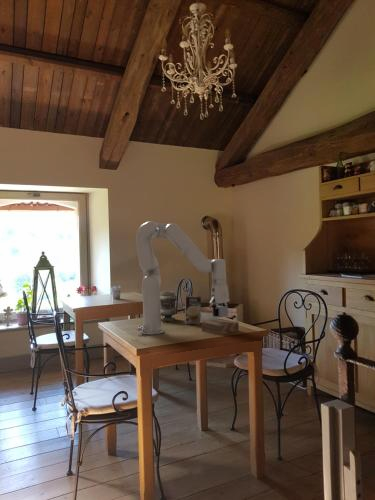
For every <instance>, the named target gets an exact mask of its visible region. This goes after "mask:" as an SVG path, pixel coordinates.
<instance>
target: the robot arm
mask: <svg viewBox="0 0 375 500" xmlns="http://www.w3.org/2000/svg"><path fill="white" fill-rule="evenodd" d="M152 238H157V239H164V240H165V239H168V240H169V241H170V242H171V243H172V244H173V245H174V246H175V247H176V248H177V250H178V251H180V253H181V254H182V255H183V256H184V257H185V258H187V260H188V261H189V262H190V263H191V264H192V265H193V266H194V267H195V268H196V269H197V270H198V272H199V273H201V274H206V275H207V274H209V273H211V284H212V285H211V291H210V301H209V305H211V307H212V308H213V315H214V316H219V313H218V309H217V308H218V306H219V305H220V304H221V306H228V305H229V302H230V301H231V299H230V293H229V287H228V284H227V272H226V271H227V269H226V267H227V265H226V260H225V259H224V258H223V259H222V258H216V259H208V258H207V257H206V256H205V254H204V253H202V251H201V250H200V249H199V248H198V247H197V245H196V244H195V242H193V240H192V239H191V238H190V237H189V236H188V235H187V234H186V233H185V232H184V231H183V229H181V228H180V226H179V225H178V224H176V223H175V222H174V223H173V222H172V223H162V222H155V221H152V220H151V221H150V220H149V221H146V222H145V223H143V224H141V225H140V226H139V228H138V229H137V231H136V235H135V244H136V245H135V246H136V251H137V257H138V262H139V263H138V264H139V267H140V269H141V270H142V275H143V277H142V281H141V293H142V314H143V317H142V318H143V321H142V322H143V324H141V326H139V327H136V329H135V331H136V332H139V331H140V333H141V334H142V335H149V336H150V335H159V334H163V333H164V332H165V329H164V328H162V321H161V319H162V318H161V317H162V315H161V303H160V292H161V284H162V277H161V276H162V275H161V273H160V267H159V261H158V258H157V257H156V256H155V254H154V249H153V248H154V247H153V243H152V242H153V241H152Z"/></svg>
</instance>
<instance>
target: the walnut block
mask: <svg viewBox="0 0 375 500" xmlns="http://www.w3.org/2000/svg"><path fill="white" fill-rule="evenodd" d="M239 328H240V327H239V321H233V320H229V319H222V318H220V319H217V320H212V321H207V322H203V321H201V332H205V333H210V334H213V333H214V334H215V335H219V336H223V335H226V333H227V334H231V333H235V332H234V331H236V332H239V331H238V330H239ZM230 332H231V333H230ZM222 334H223V335H222Z"/></svg>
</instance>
